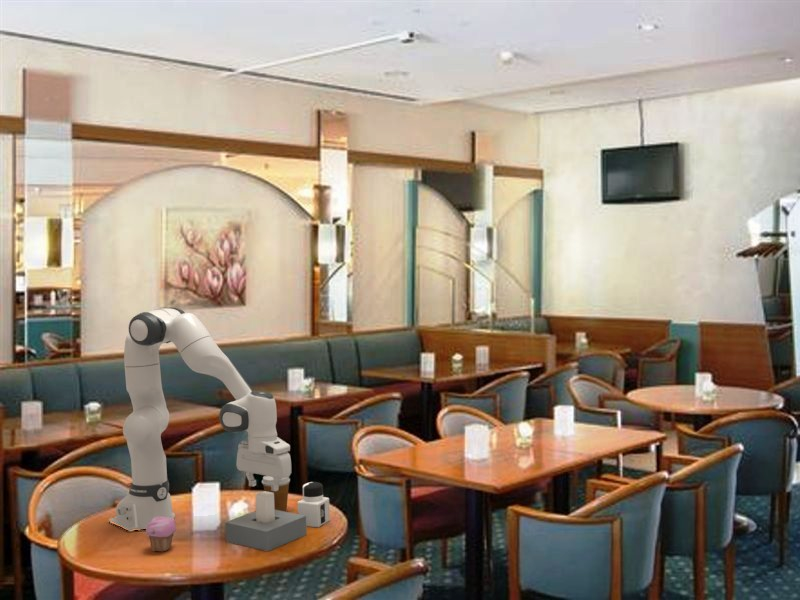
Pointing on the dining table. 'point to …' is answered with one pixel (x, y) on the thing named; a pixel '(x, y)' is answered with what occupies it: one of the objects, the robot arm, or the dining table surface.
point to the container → (314, 505)
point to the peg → (265, 507)
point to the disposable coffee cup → (278, 492)
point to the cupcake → (161, 533)
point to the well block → (265, 530)
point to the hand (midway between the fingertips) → (263, 488)
